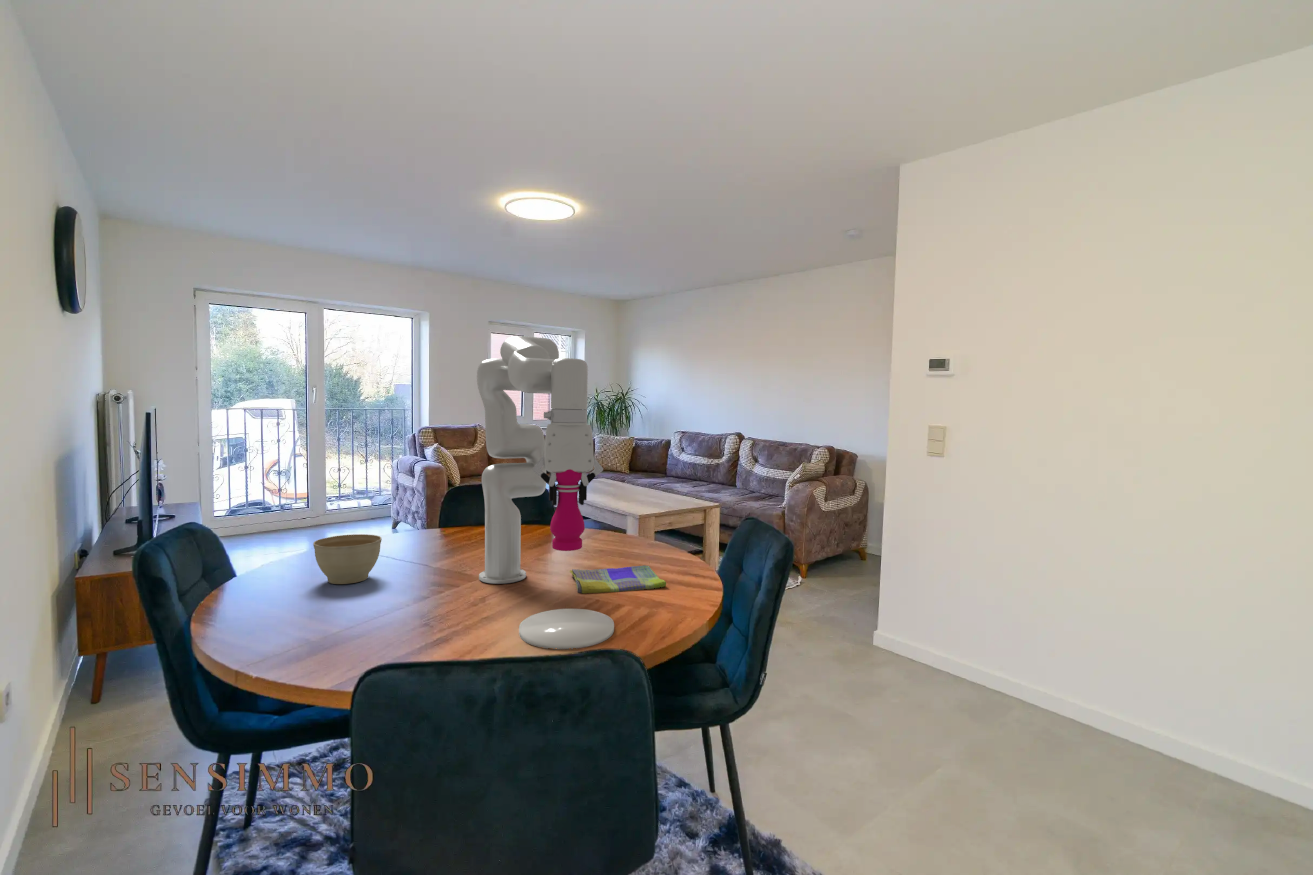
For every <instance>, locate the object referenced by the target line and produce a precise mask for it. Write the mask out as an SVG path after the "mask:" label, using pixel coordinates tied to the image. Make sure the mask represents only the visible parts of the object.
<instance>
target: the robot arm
mask: <svg viewBox="0 0 1313 875" xmlns="http://www.w3.org/2000/svg"><path fill="white" fill-rule="evenodd" d="M499 352H500V353H499V354H500V357H501V358H489V359H485V360H482V361H481V362H480V363H479V364H478V367H477V370H476V383H477V389H478V393H479V395H480V396H479V397H480V398H481V401H482V404H483V409H484V426H485V427H484V428H485V445H486V451H487V454H488V455H489V456H490V457H492V458H495V459H525V461H526V462H518V463H517V462H508V463H507V462H505V463H503V462H502V463H495V464H491V465H489V466H487V467H485V469H484V470H483V472H482V474H481V486H482V492H483V499H484V570H483V571H482V572H480V573H479V574H478V580H479V581H481V582H483V583H487V584H492V585H493V584H494V585H495V584H496V585H500V584H503V585H504V584H511V583H512V584H513V583H516V582H519V581H522V580H524V579H525V578H526V577H527V571H525V570H524V569H523V568H521V554H522V553H521V547H522V546H521V542H522V540H521V536H522V535H521V533H522V532H521V531H522V530H521V529H522V527H521V526H522V525H521V524H522V520H521V519H522V517H521V516H522V515H521V512H520V509H519V508H518V507H517V505H515V503H514V501H513V500H512V499H517V498H525V497H527V498H529V497H538V496H541V495H542V494H543V493H544V492H545V490H546V489H547V488H546V487H547V485H548V501H549V502H551V504H552V506H556V507H557V504H558V491H557V486H556V484H557V483H556V482H557V480H556V473H561V472H564V471H566V470H568V469H571V470H573V471H575V472H578V473H582V477H581V480H580V481H579V484H580V486H579V489H580V491H578V504H579V505H581V506H584V504H585V503H584V502H585V501H587V496H588V495H587V494H588V486H589V484H590V483H591V482H592V481H593V480H594V479H595V478H596V477H597V476H598V475H600V474H601V473H602V472H603V471H604V468H603V466H602V464H600V463H599V461H598V460H597V459H596V458H595V456H594V442H593V441H594V439H593V431H592V426H591V424H588V380H589V379H588V374H589V373H588V371H589V369H588V368H589V367H588V364H587V362H586V361H585V360H584V359H581V358H570V357H569V358H568V357H567V358H563V357H562V358H560V352H559V348H558V346H557V344H556V343H555V342H554V340H552V339H550V338H545V337H534V336H524V335H515V336H510V337H508V338H506V339H505V340H504V341H503V342H502V343H501V345H500V350H499ZM506 391H514V392H515V391H516V392H517V391H518V392H522V393H527V394H546V395H547V394H548V395H550V410H549V411H544V412H543V419H547V420H549V421H550V423H548V424H547V425H546V430H545V436H544V433H543V429H542V428H541V427H539V426H538V425H536V424H532V423H518V416H517V415H518V413H517V406H516V404H515V402H514V401H513V399H512V398H511V397H510V396H509V394H508V393H507V392H506ZM547 472H548V473H549V475H548V474H547ZM587 473H588V474H587Z"/></svg>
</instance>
